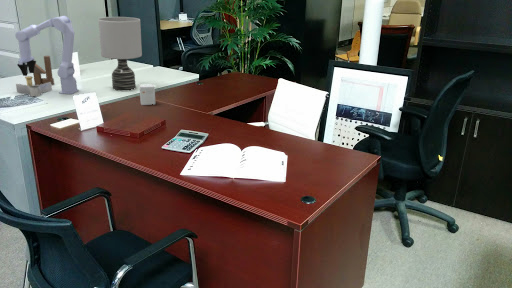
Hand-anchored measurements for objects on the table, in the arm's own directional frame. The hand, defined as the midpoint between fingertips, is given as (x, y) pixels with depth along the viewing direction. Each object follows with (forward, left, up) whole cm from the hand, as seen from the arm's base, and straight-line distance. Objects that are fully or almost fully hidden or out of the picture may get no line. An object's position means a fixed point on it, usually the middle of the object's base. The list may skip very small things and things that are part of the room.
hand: (28, 74), depth 264 cm
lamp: (-17, +51, -10) cm, 55 cm away
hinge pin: (-1, -1, -10) cm, 10 cm away
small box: (+12, +75, -10) cm, 77 cm away
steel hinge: (+5, +4, -10) cm, 12 cm away
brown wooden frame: (-14, +1, -10) cm, 17 cm away
